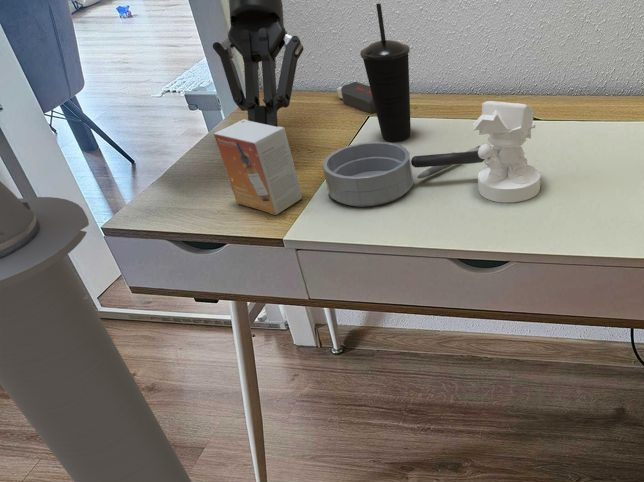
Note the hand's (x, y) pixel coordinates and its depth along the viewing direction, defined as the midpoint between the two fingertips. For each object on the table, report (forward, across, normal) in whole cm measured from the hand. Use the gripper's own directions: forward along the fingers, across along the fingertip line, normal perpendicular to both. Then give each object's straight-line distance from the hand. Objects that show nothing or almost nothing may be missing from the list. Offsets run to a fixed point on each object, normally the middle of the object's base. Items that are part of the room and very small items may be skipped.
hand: (264, 153), depth 91 cm
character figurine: (+9, -35, +1) cm, 36 cm away
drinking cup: (-7, -18, -14) cm, 24 cm away
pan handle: (+4, -27, +1) cm, 27 cm away
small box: (+7, 0, 0) cm, 7 cm away
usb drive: (-20, -11, -27) cm, 35 cm away
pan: (+6, -15, -1) cm, 16 cm away
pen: (+3, -27, -5) cm, 28 cm away
